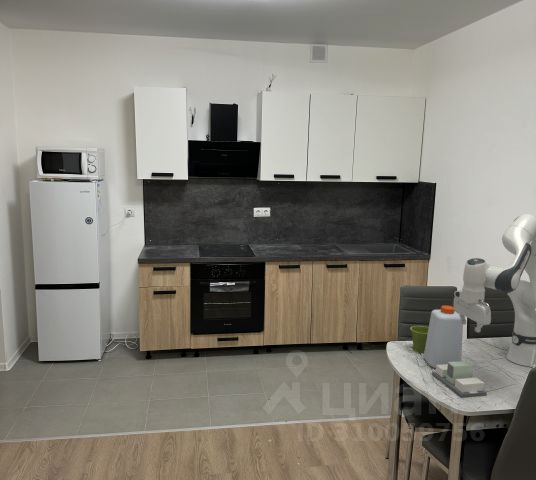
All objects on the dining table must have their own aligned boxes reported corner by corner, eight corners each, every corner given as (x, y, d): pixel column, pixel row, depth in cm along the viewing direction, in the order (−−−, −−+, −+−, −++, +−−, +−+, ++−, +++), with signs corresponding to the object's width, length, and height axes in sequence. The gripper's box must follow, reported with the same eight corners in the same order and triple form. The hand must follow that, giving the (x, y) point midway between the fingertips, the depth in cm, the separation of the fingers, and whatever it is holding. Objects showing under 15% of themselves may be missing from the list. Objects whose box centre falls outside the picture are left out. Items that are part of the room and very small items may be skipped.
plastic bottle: (431, 369, 219) (437, 311, 214) (421, 356, 234) (426, 301, 229) (463, 371, 219) (470, 313, 214) (451, 357, 234) (457, 303, 229)
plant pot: (430, 347, 246) (432, 326, 244) (434, 356, 235) (437, 334, 233) (406, 345, 248) (408, 324, 246) (410, 354, 236) (412, 332, 234)
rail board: (455, 373, 216) (456, 362, 216) (486, 395, 196) (487, 383, 195) (431, 374, 214) (433, 364, 213) (461, 397, 193) (462, 385, 193)
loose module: (464, 378, 208) (466, 360, 207) (470, 382, 204) (472, 365, 202) (445, 379, 206) (447, 362, 204) (451, 384, 201) (453, 366, 200)
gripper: (496, 303, 192) (493, 336, 195) (464, 289, 212) (461, 319, 214) (482, 304, 191) (480, 337, 193) (451, 290, 210) (449, 320, 213)
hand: (470, 327), depth 204 cm, fingers open, 8 cm apart
